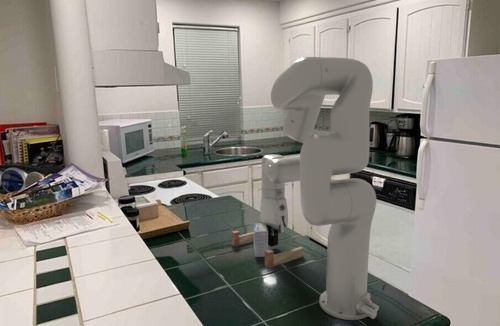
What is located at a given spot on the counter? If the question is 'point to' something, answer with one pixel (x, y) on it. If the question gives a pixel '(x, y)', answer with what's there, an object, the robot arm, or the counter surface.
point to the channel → (270, 258)
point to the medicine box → (260, 239)
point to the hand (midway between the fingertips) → (272, 245)
